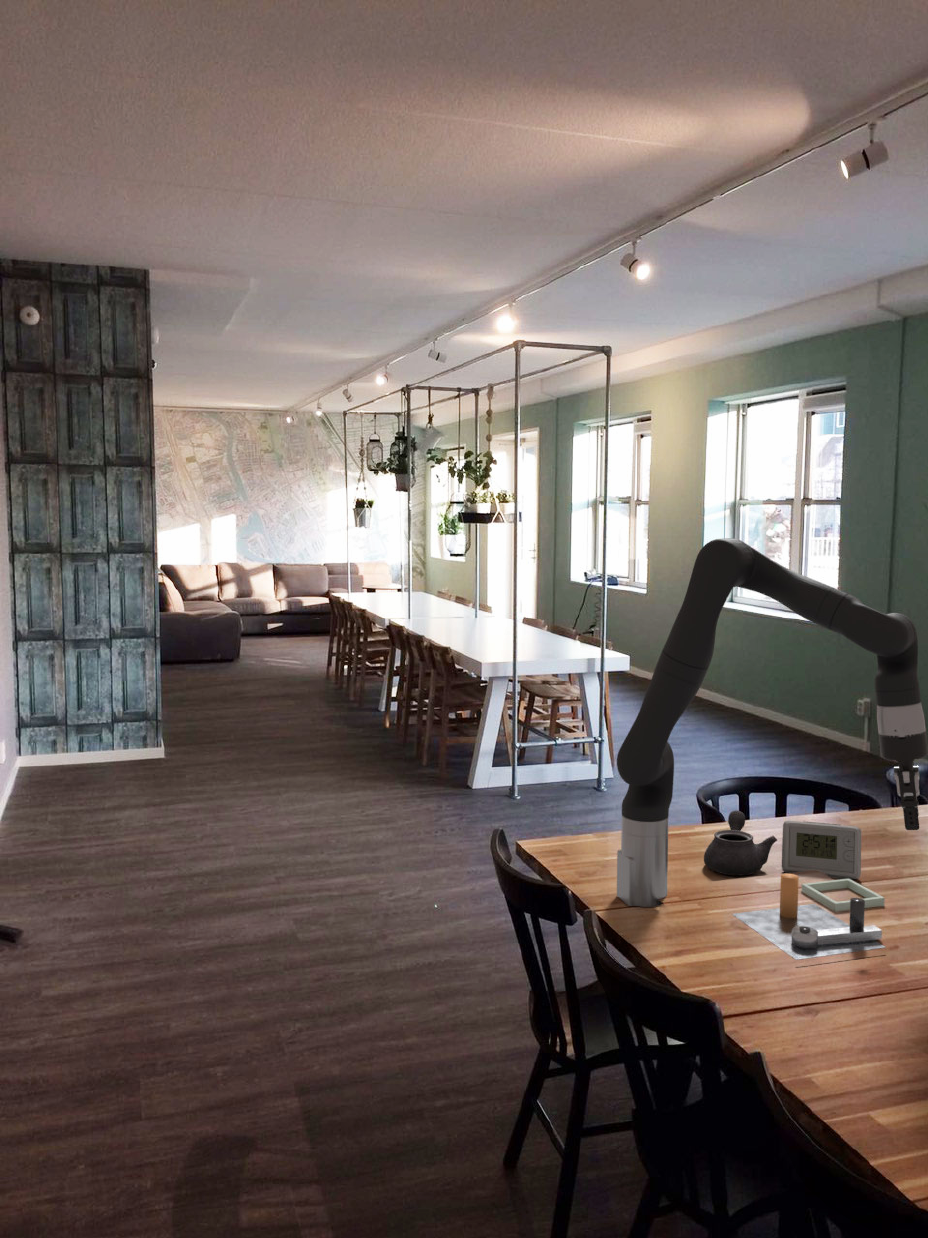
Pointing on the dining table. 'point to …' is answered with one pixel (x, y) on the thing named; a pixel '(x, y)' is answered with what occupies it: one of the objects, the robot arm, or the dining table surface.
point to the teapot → (737, 849)
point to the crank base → (808, 916)
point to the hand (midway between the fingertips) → (912, 823)
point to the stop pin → (789, 895)
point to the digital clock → (822, 849)
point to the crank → (838, 930)
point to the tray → (814, 888)
